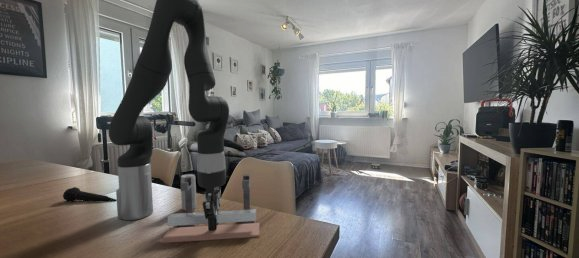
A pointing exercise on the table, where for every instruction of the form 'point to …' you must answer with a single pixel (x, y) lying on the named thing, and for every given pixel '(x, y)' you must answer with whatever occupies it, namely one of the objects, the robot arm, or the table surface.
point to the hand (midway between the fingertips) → (213, 227)
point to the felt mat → (211, 233)
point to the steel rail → (200, 219)
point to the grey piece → (184, 191)
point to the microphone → (84, 196)
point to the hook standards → (189, 196)
